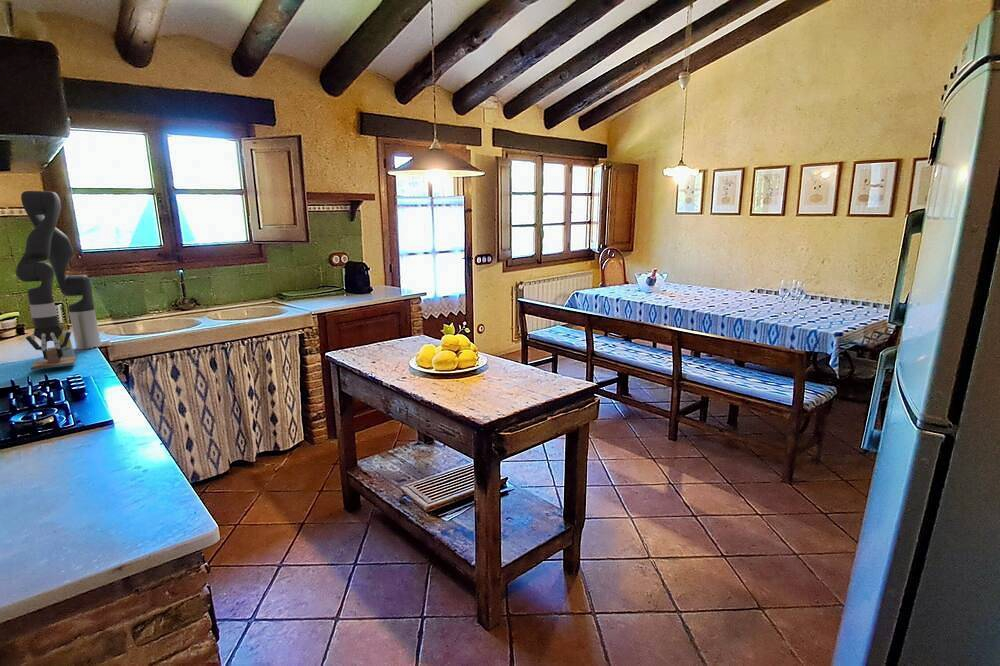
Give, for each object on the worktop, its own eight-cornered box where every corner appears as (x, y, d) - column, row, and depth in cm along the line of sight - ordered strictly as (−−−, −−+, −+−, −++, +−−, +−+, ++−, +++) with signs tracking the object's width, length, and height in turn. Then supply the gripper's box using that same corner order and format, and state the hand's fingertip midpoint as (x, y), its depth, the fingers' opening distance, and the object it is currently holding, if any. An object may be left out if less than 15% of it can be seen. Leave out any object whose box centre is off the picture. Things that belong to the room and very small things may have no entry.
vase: (63, 358, 220) (57, 325, 217) (52, 357, 221) (45, 324, 218) (77, 354, 226) (71, 322, 223) (66, 354, 227) (59, 322, 224)
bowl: (48, 361, 215) (46, 349, 214) (76, 357, 220) (74, 346, 219) (44, 366, 208) (42, 353, 207) (73, 362, 212) (71, 350, 211)
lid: (37, 362, 204) (33, 348, 203) (77, 357, 211) (74, 343, 210) (30, 369, 194) (27, 354, 193) (73, 364, 201) (70, 349, 199)
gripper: (69, 311, 205) (78, 354, 209) (22, 315, 198) (32, 359, 201) (66, 314, 199) (75, 357, 203) (18, 318, 192) (28, 364, 195)
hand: (53, 358), depth 202 cm, fingers closed on lid, 3 cm apart
